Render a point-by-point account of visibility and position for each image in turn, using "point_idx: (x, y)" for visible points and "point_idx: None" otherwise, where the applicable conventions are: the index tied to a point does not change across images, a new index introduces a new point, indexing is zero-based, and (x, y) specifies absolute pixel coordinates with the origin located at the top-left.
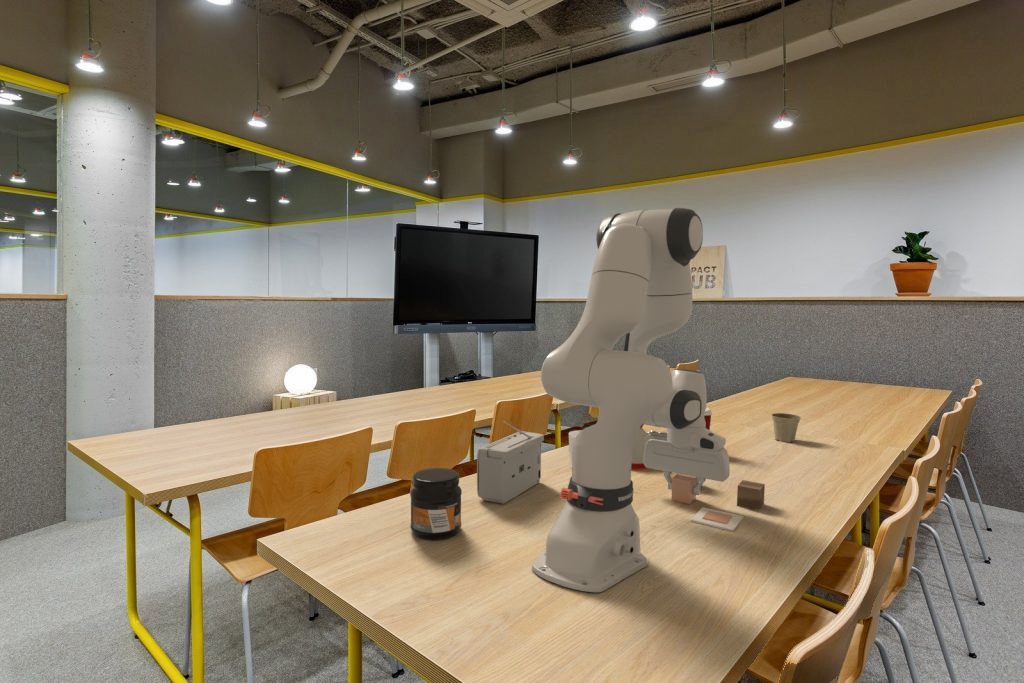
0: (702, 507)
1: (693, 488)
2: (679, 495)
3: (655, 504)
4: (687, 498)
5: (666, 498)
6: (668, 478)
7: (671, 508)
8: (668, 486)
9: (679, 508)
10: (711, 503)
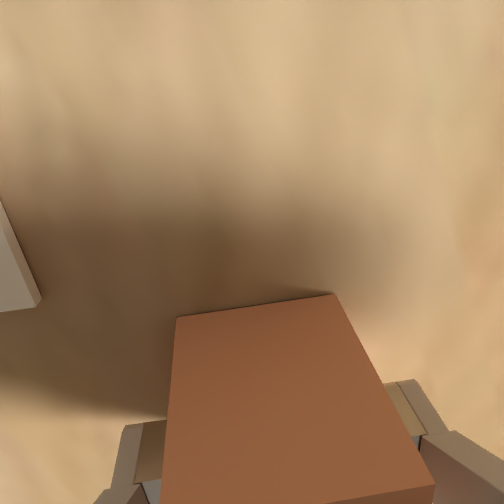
0: (31, 301)
1: None
2: (277, 340)
3: (425, 102)
4: (198, 343)
5: (381, 302)
6: (473, 474)
7: (255, 112)
8: (420, 396)
9: (195, 170)
10: (74, 427)
